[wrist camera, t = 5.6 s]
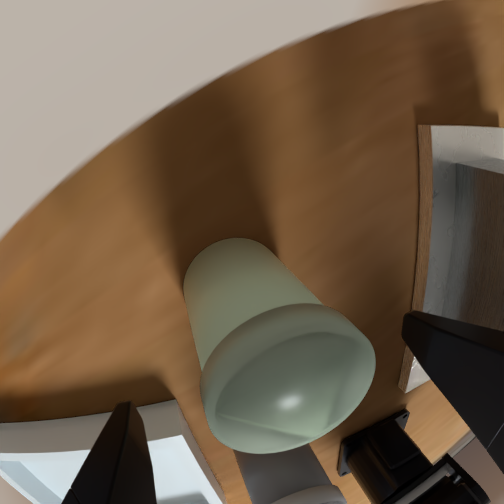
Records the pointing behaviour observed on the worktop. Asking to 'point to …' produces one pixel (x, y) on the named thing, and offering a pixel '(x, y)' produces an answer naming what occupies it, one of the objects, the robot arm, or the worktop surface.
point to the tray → (82, 440)
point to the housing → (459, 231)
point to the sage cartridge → (270, 351)
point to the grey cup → (287, 478)
